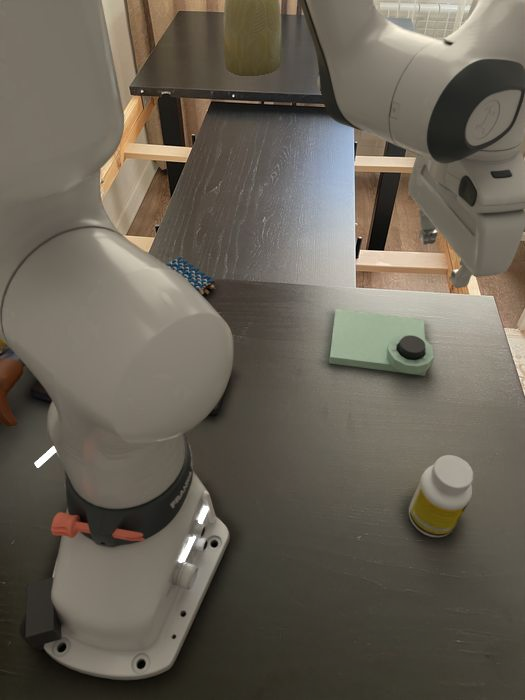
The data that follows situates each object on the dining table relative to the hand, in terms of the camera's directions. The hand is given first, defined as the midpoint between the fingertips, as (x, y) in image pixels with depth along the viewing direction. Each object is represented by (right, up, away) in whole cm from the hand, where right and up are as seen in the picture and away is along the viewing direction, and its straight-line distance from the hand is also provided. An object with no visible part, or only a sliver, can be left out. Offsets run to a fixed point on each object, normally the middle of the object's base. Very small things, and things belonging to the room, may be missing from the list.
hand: (441, 261), depth 69 cm
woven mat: (-38, -1, +23) cm, 45 cm away
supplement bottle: (-3, -31, -7) cm, 32 cm away
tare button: (-2, -12, +9) cm, 15 cm away
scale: (-5, -10, +14) cm, 18 cm away
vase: (-26, +73, +97) cm, 124 cm away
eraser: (-50, -16, +4) cm, 53 cm away
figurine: (-59, -19, -2) cm, 62 cm away
